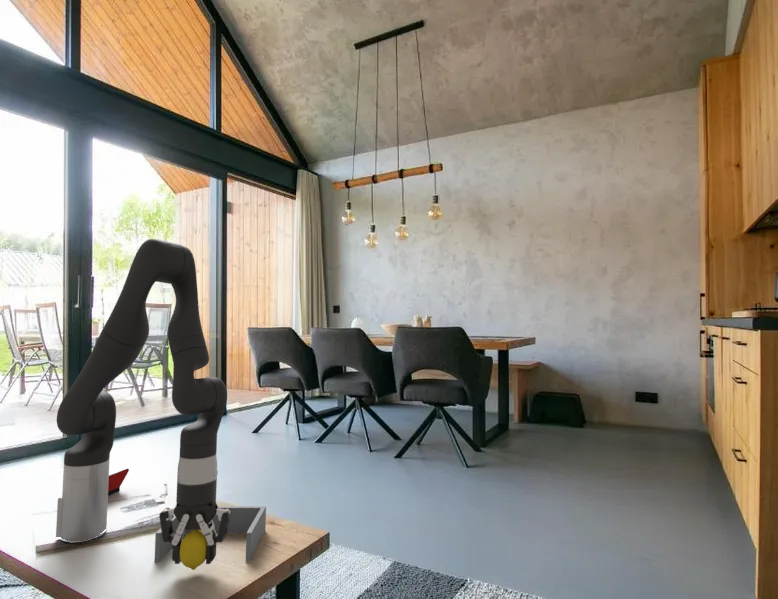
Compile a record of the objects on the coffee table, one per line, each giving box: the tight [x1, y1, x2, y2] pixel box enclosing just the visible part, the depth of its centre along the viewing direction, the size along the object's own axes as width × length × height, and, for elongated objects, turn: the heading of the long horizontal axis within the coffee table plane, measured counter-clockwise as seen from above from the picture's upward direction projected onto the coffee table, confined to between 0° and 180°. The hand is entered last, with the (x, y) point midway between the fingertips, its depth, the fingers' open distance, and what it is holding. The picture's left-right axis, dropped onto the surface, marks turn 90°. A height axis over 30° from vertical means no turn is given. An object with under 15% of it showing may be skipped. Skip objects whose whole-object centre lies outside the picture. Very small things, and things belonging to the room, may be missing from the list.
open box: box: [153, 505, 267, 563], centre depth 110 cm, size 20×15×6 cm
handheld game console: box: [108, 468, 130, 497], centre depth 138 cm, size 12×11×7 cm
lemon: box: [180, 529, 208, 571], centre depth 98 cm, size 6×6×8 cm
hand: (194, 561), depth 97 cm, fingers closed on lemon, 5 cm apart
